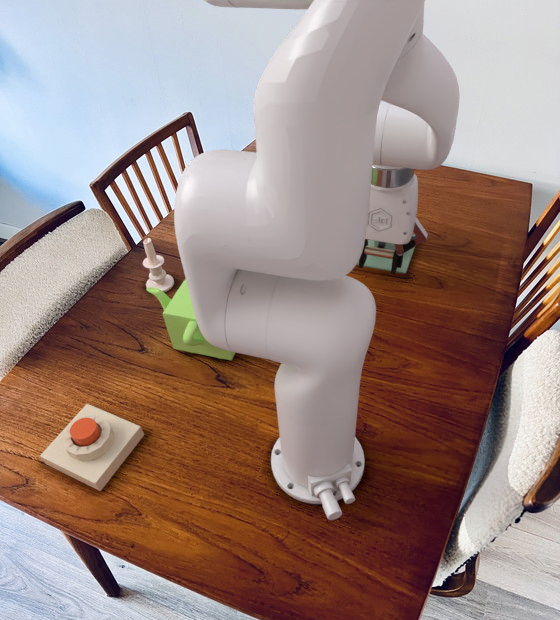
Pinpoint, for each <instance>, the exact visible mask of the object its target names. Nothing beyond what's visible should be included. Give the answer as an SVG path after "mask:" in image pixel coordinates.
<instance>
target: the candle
mask: <svg viewBox="0 0 560 620" xmlns="http://www.w3.org/2000/svg"><path fill="white" fill-rule="evenodd" d="M142 243H143V248H144V251H145V254H146V257H145V258H144V259H143V261H142V266H143V267H144V268H146V269H149V274H148V279H147V281H146V282H145V286H146V289H147V288H148V287H154V288H157V289H160V290H161V291H163V292H164V293H167V292H169V291H170V290H172V288H173V287H174V285H175V280H174V278H173V276H172V275H170V274H167V272H166V270H165V269H163V266H162V265H163V264H164V263H165V258H164V256H162V255H160V254H157V253H156V250H155V247H154V244H153V241H152V239H151V238H150V237H149V238H147V237H145V239H144V240H143V242H142Z"/></svg>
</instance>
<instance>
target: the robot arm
mask: <svg viewBox="0 0 560 620" xmlns="http://www.w3.org/2000/svg"><path fill="white" fill-rule="evenodd" d="M203 1H204V2H205V3H207V4H209V5H211V6H214V7H219V8H230V9H231V8H235V9H241V8H242V9H269V10H270V9H272V10H274V9H275V10H306V11H305V12H304V14H302V16H301V17H300V19H299V20H298V21H297V22H296V24H295V25H294V26H293V28H292V29H291V30H290V31H289V33H288V34H287V36H286V37H285V38H284V39H283V40H282V42H281V43H280V44H279V46H278V47H277V49H275V52H274V53H273V54H272V56H271V58H270V59H269V61H268V62H267V65H266V66H265V68H264V69H263V72H262V73H261V76H260V77H259V80H258V82H257V85H256V88H255V91H254V94H253V103H252V104H253V105H252V106H253V107H252V109H253V124H254V136H255V138H254V139H255V151H246V150H236V149H212V150H209V151H204V152H202V153H199V154H198V155H196V156H195V157H193V159H191V160H190V161H189V162H188V164H187V165H186V166H185V168H184V170H183V171H182V173H181V175H180V177H179V180H178V184H177V186H176V187H177V188H176V193H175V198H174V209H173V224H174V235H175V238H176V239H175V240H176V244H177V248H178V254H179V257H180V261H181V262H180V263H181V266H182V270H183V274H184V278H186V282H187V286H188V290H189V294H190V298H191V302H192V306H193V310H194V313H195V317H196V321H197V324H198V327H199V329H200V331H201V333H202V335H203V337H204V338H205V339H206V340H207V341H208V342H209V343H210V344H212V345H213V346H215V347H217V348H220V349H224V350H227V351H231V352H236V353H237V354H241V355H244V356H245V355H246V356H250V357H255V358H260V359H265V360H269V361H272V362H275V363H279V364H280V365H279V367H278V370H277V371H276V374H275V378H274V384H273V385H274V386H273V387H274V398H275V406H276V415H277V424H278V433H279V436H278V438H277V439H276V441H275V443H274V445H273V448H272V450H271V455H270V465H271V471H272V475H273V478H274V480H275V482H276V484H277V485H278V486H279V488H280V489H281V490H282V491H283V492H285V494H287V496H290V497H291V498H293V499H295V500H297V501H299V502H303V503H306V504H310V505H322V508H323V511H324V514H325V516H326V518H327V520H328V521H334V520H338V519H339V518H340V517H341V516H342V515H343V512H342V509H341V507H340V505H339V502H338V501H340V500H342V499H343V501H344V503H345V505H350V504H353V502H355V501H356V498H355V495H354V493H353V491H354V490H355V489H356V488H357V486H358V485H359V484H360V482H361V480H362V477H363V474H364V471H365V459H366V458H365V454H364V453H365V452H364V450H363V447H362V445H361V443H360V441H359V439H358V438H357V437H356V432H357V431H356V430H357V420H358V408H359V399H360V389H361V388H360V385H361V379H362V372H363V368H364V363H365V359H366V356H367V352H368V350H369V346H370V343H371V341H372V338H373V333H374V330H375V325H376V320H377V319H376V318H377V305H376V300H375V297H374V295H373V292H372V291H371V290H370V289H369V287H368V286H366V285H365V284H364V283H363V282H361V281H360V280H358V279H356V278H354V277H352V276H349V275H348V274H349V273H351V272H352V271H353V270H354V269H355V267H356V266H357V265H358V262H359V265H358V269H362V268H364V264H365V261H366V259H367V255H366V254H364V250H365V247H366V246H368V240H374V241H380V242H386V243H392V244H395V248H396V249H395V252H394V255H393V260H392V267H391V271H390V274H391V275H396V273H397V272H396V270H397V268H401V266H402V261H403V255H404V253H405V252H407V251H409V250H410V249H412V248H414V247H415V248H416V246H419V245H422V244H423V243H426V242H427V240H428V238H429V234H428V232H427V230H426V229H425V227H424V226H423V225H422V223H421V221H420V220H419V219H418V216H417V215H418V205H419V183H418V182H419V181H418V176H417V174H416V173H415V170H418V171H419V170H421V171H431V170H435V169H437V168H439V167H440V166H442V165H443V164H444V162H445V161H446V160H447V158H448V157H449V154H450V152H451V150H452V146H453V144H454V139H455V135H456V129H457V121H458V115H459V109H460V85H459V81H458V77H457V75H456V73H455V71H454V69H453V67H452V65H451V64H450V63H449V61H448V60H447V57H445V55H444V54H443V53H442V51H441V50H440V49H439V48H438V47H437V46H436V45H435V44H434V43H433V42H432V41H431V40H430V39H429V38H428V37H427V36H426V35H425V34H424V21H425V20H424V19H425V2H426V0H203ZM412 234H415V236H412ZM236 353H235V354H236Z"/></svg>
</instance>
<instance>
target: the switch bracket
mask: <svg viewBox="0 0 560 620" xmlns="http://www.w3.org/2000/svg"><path fill="white" fill-rule="evenodd" d="M412 236H415V234H414V233H413V234H412ZM367 241H368V246H371V247H378V244H379V241H374V240H368V239H367ZM385 249H388V250H394V251H395V249H396V248H395V244H392V243H386V246H385ZM415 249H416V246H415V247H414V248H412V249H410V250H409V251H407V252H405V253H404V255H403V261H402V266H401V268H397V270H396V273H399V274H403V275H406V274H407V272H408V269H409V266H410V263H411V261H412V257H413V254H414V251H415ZM392 260H393V259H389V258H383V257H377V256H372V255H367V259H366V261H365V264H364V266H363V268H364V267H365V268H371V269H377V270H381V271H387V272H391V267H392ZM357 266H359V261H358V263H357Z"/></svg>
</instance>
